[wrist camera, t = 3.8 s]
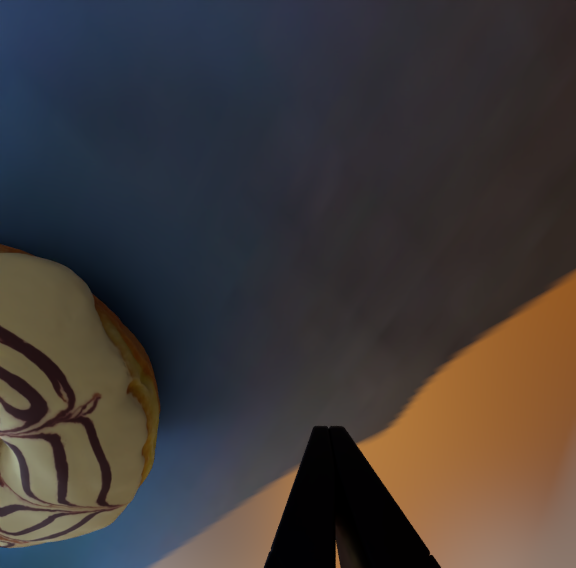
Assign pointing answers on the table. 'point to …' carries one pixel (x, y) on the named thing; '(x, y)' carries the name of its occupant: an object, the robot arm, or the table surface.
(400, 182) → the table surface
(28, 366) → the decorated donut
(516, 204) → the table surface
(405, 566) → the robot arm
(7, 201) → the table surface
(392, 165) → the table surface
